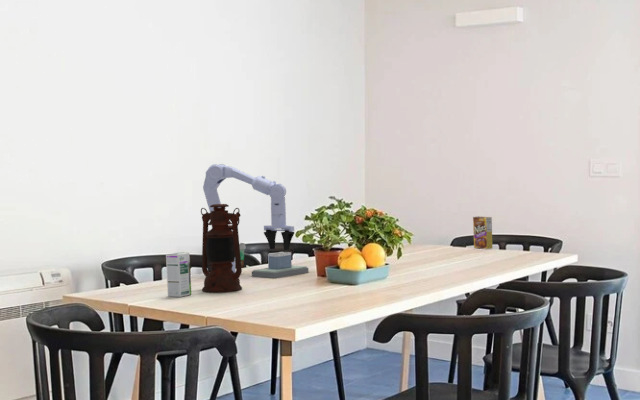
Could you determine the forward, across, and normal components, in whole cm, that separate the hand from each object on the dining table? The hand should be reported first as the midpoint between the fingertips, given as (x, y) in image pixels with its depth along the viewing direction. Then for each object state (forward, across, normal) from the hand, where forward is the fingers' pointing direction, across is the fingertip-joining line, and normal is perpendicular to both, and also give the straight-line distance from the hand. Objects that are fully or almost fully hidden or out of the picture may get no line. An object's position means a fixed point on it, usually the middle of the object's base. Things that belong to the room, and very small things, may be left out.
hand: (279, 249), depth 353 cm
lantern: (+10, -11, +42) cm, 45 cm away
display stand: (+10, 0, 0) cm, 10 cm away
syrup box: (+10, -8, +59) cm, 61 cm away
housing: (+7, 0, 0) cm, 7 cm away
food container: (+10, +33, -9) cm, 35 cm away
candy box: (+10, -20, -123) cm, 125 cm away
